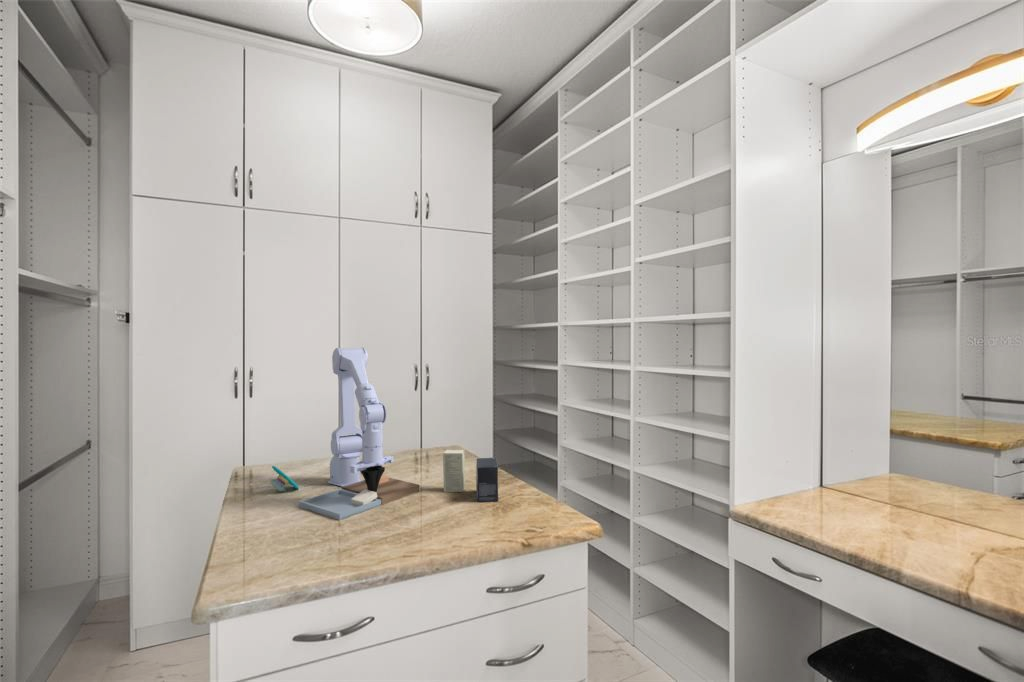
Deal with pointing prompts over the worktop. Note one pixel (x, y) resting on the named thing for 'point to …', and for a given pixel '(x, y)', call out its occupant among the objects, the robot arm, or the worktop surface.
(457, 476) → the skincare box
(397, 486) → the walnut board
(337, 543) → the worktop surface
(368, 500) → the cream tile
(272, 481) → the ornament
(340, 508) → the box
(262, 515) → the worktop surface
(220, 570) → the worktop surface
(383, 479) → the terracotta tile
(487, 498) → the small box
